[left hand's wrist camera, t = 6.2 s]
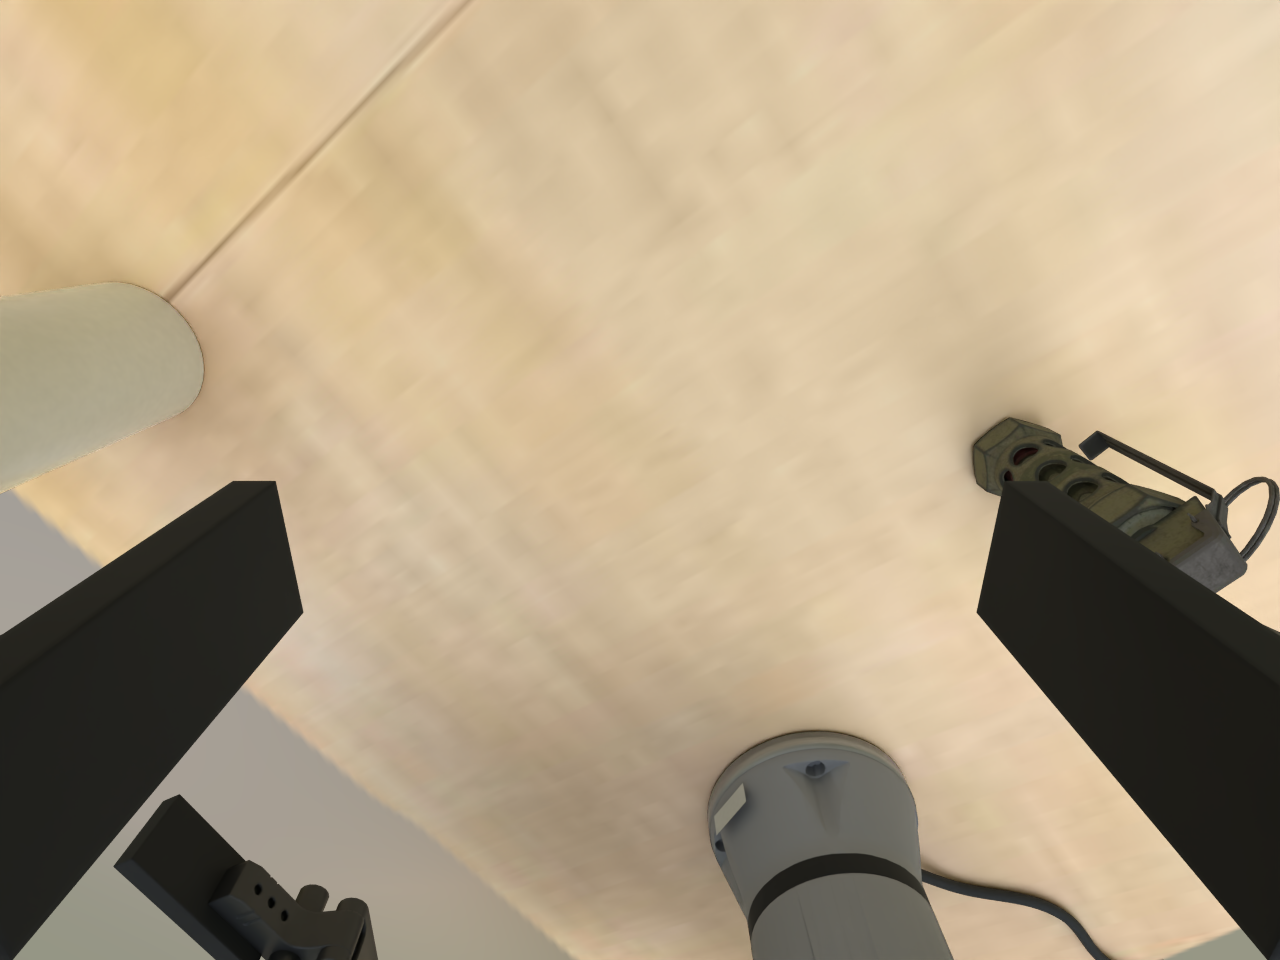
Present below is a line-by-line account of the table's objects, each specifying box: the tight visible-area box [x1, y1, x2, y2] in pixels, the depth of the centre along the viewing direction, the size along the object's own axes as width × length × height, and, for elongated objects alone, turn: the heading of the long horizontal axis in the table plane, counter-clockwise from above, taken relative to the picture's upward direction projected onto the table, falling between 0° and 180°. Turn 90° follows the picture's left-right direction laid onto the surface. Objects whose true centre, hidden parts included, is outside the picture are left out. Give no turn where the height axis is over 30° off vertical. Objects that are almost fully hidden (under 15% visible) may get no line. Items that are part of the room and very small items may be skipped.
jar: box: [0, 282, 204, 494], centre depth 32 cm, size 8×8×16 cm
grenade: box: [973, 418, 1280, 593], centre depth 34 cm, size 9×6×15 cm, turn 134°
